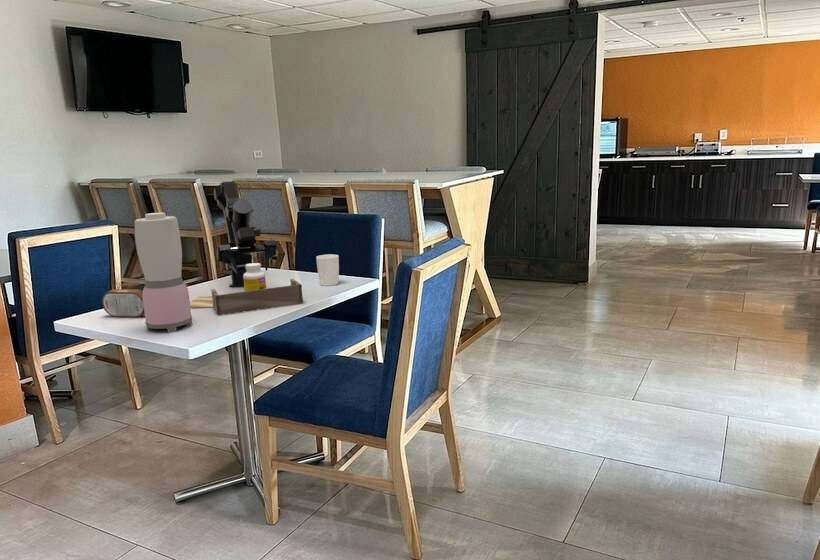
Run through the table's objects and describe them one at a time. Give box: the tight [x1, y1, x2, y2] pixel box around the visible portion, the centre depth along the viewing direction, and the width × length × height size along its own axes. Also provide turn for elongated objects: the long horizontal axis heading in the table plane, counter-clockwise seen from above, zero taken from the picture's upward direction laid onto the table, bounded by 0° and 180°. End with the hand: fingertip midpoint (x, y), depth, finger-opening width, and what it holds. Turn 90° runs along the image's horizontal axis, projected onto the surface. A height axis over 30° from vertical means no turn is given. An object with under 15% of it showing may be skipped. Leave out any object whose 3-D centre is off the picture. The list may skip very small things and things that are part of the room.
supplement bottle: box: [243, 262, 267, 291], centre depth 196 cm, size 7×7×13 cm
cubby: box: [211, 278, 304, 316], centre depth 194 cm, size 10×26×6 cm, turn 114°
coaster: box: [190, 295, 213, 309], centre depth 201 cm, size 14×14×1 cm
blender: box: [133, 212, 193, 333], centre depth 173 cm, size 16×12×32 cm
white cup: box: [315, 253, 340, 287], centre depth 221 cm, size 8×8×10 cm
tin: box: [101, 288, 145, 318], centre depth 188 cm, size 15×3×8 cm, turn 78°
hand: (252, 271), depth 197 cm, fingers open, 9 cm apart
